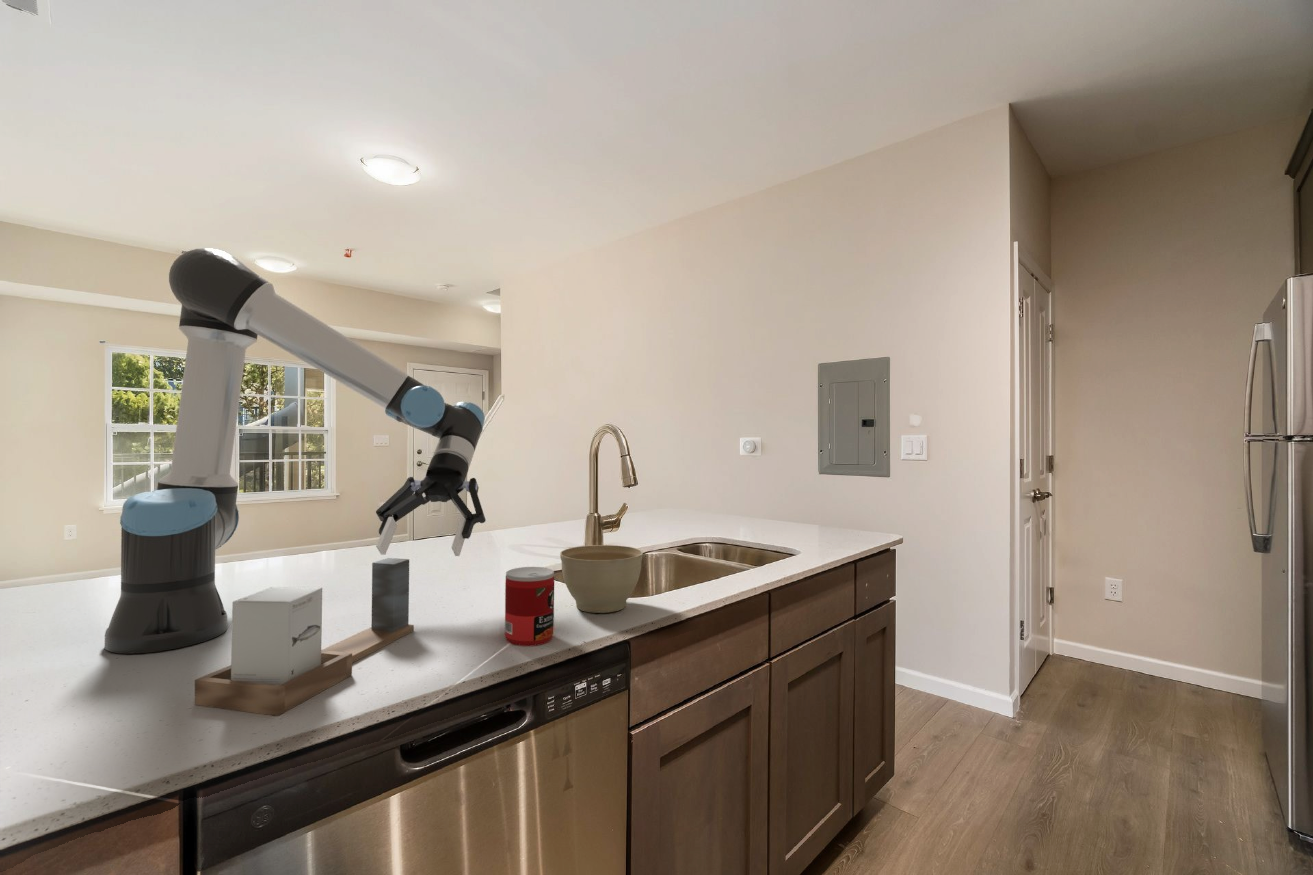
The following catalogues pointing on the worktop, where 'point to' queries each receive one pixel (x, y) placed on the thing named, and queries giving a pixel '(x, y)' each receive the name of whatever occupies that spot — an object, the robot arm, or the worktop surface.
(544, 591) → the canned food
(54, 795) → the worktop surface
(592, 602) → the planter bowl
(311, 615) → the supplement box
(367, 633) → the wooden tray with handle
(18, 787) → the worktop surface
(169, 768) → the worktop surface
